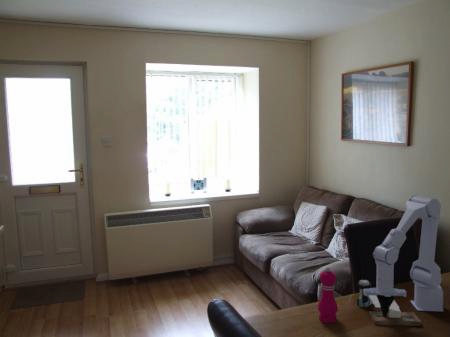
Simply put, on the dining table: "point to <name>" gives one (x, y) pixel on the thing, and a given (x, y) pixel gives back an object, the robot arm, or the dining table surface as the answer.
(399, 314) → the switch tab
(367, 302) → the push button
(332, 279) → the pepper mill
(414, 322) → the switch board
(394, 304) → the parts mat
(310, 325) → the dining table surface
